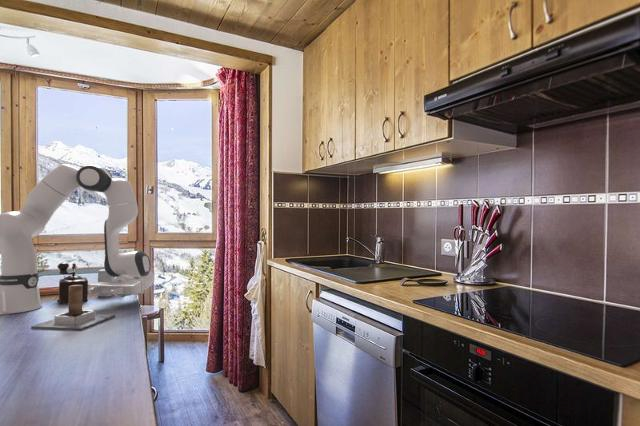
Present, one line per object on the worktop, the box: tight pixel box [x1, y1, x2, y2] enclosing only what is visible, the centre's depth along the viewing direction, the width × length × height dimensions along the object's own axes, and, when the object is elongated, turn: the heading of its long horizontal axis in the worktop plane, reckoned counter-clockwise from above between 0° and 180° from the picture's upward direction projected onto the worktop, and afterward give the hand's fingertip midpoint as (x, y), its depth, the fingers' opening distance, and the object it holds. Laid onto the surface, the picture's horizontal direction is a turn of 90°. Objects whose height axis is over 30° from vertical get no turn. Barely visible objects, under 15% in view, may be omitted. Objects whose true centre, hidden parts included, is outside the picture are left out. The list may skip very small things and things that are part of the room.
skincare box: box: [96, 268, 116, 297], centre depth 171 cm, size 6×4×12 cm
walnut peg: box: [67, 285, 83, 316], centre depth 126 cm, size 4×4×12 cm
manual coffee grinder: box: [56, 262, 89, 305], centre depth 157 cm, size 16×11×18 cm
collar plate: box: [30, 309, 116, 332], centre depth 126 cm, size 18×16×3 cm
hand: (100, 292), depth 138 cm, fingers open, 8 cm apart
